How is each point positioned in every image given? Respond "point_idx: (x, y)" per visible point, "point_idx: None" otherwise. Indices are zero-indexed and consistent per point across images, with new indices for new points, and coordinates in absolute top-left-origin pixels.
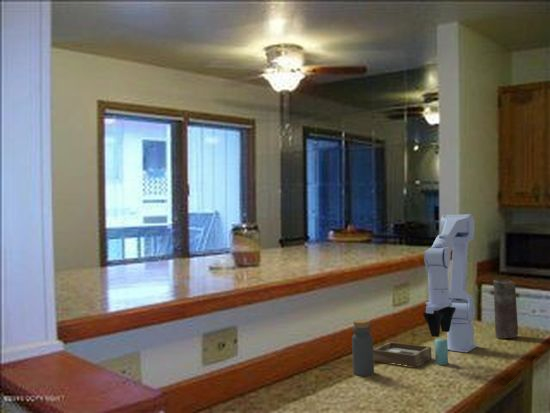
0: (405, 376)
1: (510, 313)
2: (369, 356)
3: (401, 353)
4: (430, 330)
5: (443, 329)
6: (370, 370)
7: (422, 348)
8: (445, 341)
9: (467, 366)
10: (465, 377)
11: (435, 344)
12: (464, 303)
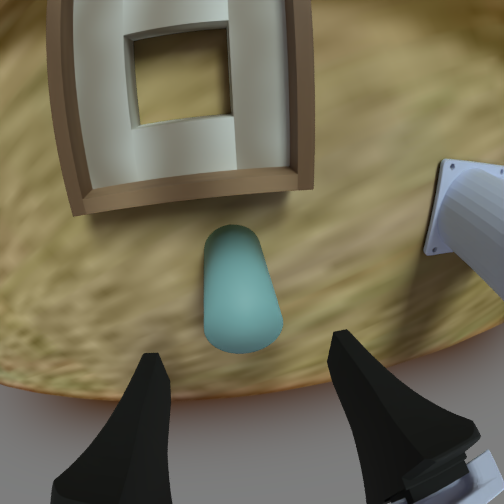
0: (3, 232)
1: None
2: None
3: (64, 132)
4: (131, 385)
5: (336, 349)
6: None
7: (293, 137)
8: (233, 352)
9: None
10: (136, 363)
11: (210, 296)
12: None
